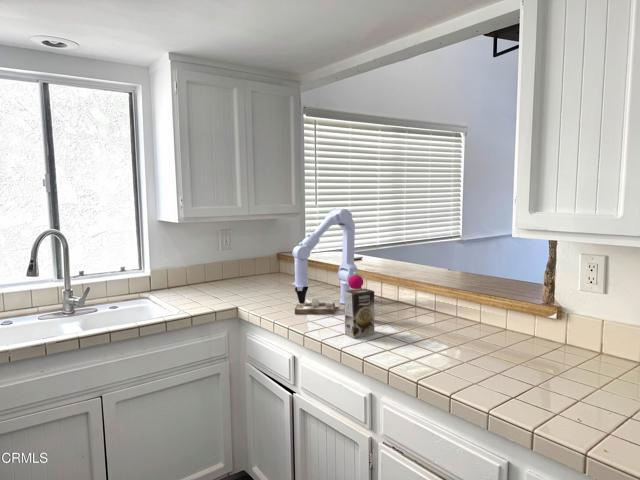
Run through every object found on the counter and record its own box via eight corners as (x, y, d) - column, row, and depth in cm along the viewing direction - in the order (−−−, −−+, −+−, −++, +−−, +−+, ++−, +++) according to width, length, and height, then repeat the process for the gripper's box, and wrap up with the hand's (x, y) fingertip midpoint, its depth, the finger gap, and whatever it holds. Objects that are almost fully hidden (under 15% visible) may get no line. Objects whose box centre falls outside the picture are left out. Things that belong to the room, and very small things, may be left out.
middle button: (319, 305, 198) (319, 298, 198) (319, 307, 195) (318, 300, 195) (312, 305, 198) (312, 298, 198) (311, 307, 195) (311, 300, 195)
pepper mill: (367, 319, 181) (367, 270, 178) (361, 324, 174) (361, 273, 172) (350, 317, 184) (350, 269, 181) (344, 322, 177) (343, 272, 175)
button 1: (306, 308, 199) (305, 302, 198) (305, 310, 196) (305, 304, 195) (298, 308, 199) (298, 302, 199) (298, 310, 196) (298, 304, 195)
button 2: (333, 308, 198) (332, 301, 198) (332, 310, 195) (332, 303, 194) (325, 308, 198) (325, 301, 198) (325, 310, 195) (325, 303, 195)
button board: (334, 306, 201) (334, 301, 201) (334, 314, 189) (334, 308, 189) (297, 307, 202) (297, 301, 202) (294, 314, 190) (294, 308, 190)
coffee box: (353, 338, 157) (353, 294, 155) (344, 333, 163) (343, 290, 161) (375, 334, 161) (375, 290, 159) (365, 329, 167) (365, 287, 165)
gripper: (294, 270, 203) (294, 299, 204) (290, 276, 188) (290, 307, 190) (309, 270, 202) (310, 299, 204) (306, 276, 188) (307, 307, 189)
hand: (301, 303), depth 197 cm, fingers closed, pressing on button 1
